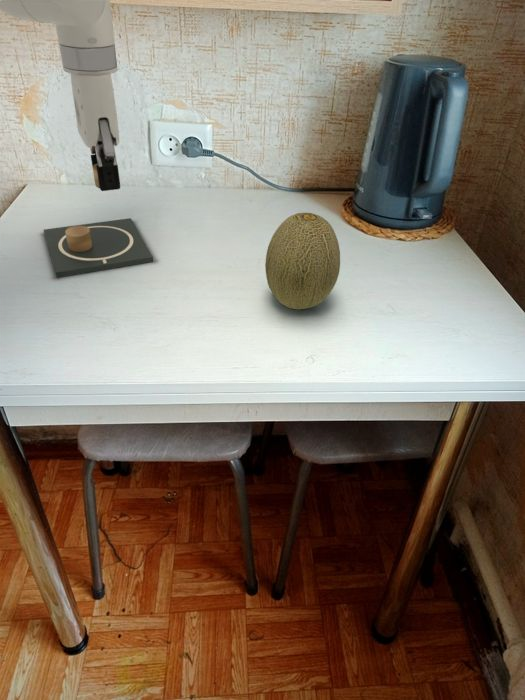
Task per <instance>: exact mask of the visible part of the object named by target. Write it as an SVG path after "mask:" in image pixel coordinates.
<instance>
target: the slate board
mask: <svg viewBox="0 0 525 700" xmlns="http://www.w3.org/2000/svg"><path fill="white" fill-rule="evenodd" d="M133 221H134V220H132V218H131V217H127V218H119V219H114V220H105V221H99V222H91V223H83V224H75V225H69V226H60V227H52V228H46V229H43V234H44V237H45V241H46V244H47V245H46V246H47V248H48V251H49V255H50V259H51V262H52V266H53V269H54V274H55V277H56V278H62V277H69V276H75V275H80V274H88V273H93V272H98V271H105V270H110V269H111V270H112V269H116V268H122V267H130V266H134V265H142V264H147V263H152V262H154V256H153V254H152V253H151V251H150V249H149V248H148V246H147V244H146V242H145V241H144V239H143V237H142V235H141V233H140V231H139V230H138V228H137V227H136V224H135V223H134V222H133ZM73 226H85V227H88V228H89V229H90V234H91V240H92V248H91V249H89V250H87V251H84V252H74V251H71V250H70V249H69V248H68V243H67V238H66V233H65V231H66V230H67V229H68V228H70V227H73Z"/></svg>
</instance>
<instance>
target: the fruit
mask: <svg viewBox="0 0 525 700" xmlns="http://www.w3.org/2000/svg"><path fill="white" fill-rule="evenodd" d="M338 240H339V239H338V237H337V235H336V232H335V230H334V228H333V226H332V224H331V223H329V221H328V220H327V219H326V218H324V217H323V216H321V215H319V214H315V213H312V212H297V213H295V214H292V215H290V216H288V217H287V218H286V219H285V220H283V221H282V222H281V223H280V225H278V227H277V229H276V230H275V231H274V232H273V235H272V236H271V239H270V241H269V244H268V246H267V251H266V255H265V264H264V267H265V268H264V269H265V278H266V280H267V285H268V288H269V290H270V293H272V295H273V297H274V298H275V299H276V300H277V301H278V303H280V304H282V305H283V306H285V307H286V308H288V309H291V310H307V309H310V308H314V307H315V306H318V305H320V304H321V303H322V302H324V300H326V299H327V298H328V297H329V296H330V294H331V293H332V291H333V289H334V287H335V285H336V283H337V281H338V278H339V276H340V270H341V250H340V244H339V241H338Z"/></svg>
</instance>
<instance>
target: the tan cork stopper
mask: <svg viewBox="0 0 525 700" xmlns="http://www.w3.org/2000/svg"><path fill="white" fill-rule="evenodd" d="M96 165H98V163H97V164H94V165H93V167H92V172H93V173H92V174H93V180H94V186H95V187H96V188H97V189H100V187H99V180H98V174H97V167H96ZM118 172H119V173H120V169H118ZM119 180H120V181H121V178H120V177H119Z"/></svg>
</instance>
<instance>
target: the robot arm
mask: <svg viewBox="0 0 525 700" xmlns="http://www.w3.org/2000/svg"><path fill="white" fill-rule="evenodd" d="M0 10H1V11H2V12H4V13H5V14H6V15H8V16H10V17H13V18H16V19H19V20H24V21H28V22H36V23H43V24H45V23H46V24H53V25H55V29H56V35H57V42H58V46H59V52H60V58H61V64H62V69H63V70H62V71H64V72H65V73H68V74H70V84H71V90H72V91H71V92H72V97H73V105H74V112H75V118H76V119H75V120H76V127H77V132H78V134H79V136H80V138H81V140H82V142H83V144H84V145H85V147H86V148H88V149H89V150H90V153H91V154H90V160H91V166H92V167H93V165H94V164H97V163H98V165H96V167H97V174H98V180H99V187H100V188H99V190H100V191H102V192H106V191H107V192H108V191H115V190H120V189H121V179H120V180H119V178H120V171H119V172H118V170H119V165H118V162H117V155H116V149H115V147H117V146H119V144H120V132H119V131H120V130H119V122H118V121H119V120H118V114H117V105H116V99H115V98H116V97H115V92H114V89H115V88H114V86H113V79H112V74H115V73H117V72H118V70H119V69H118V68H119V67H118V61H117V52H116V43H115V33H114V25H113V16H112V7H111V0H0Z"/></svg>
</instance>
